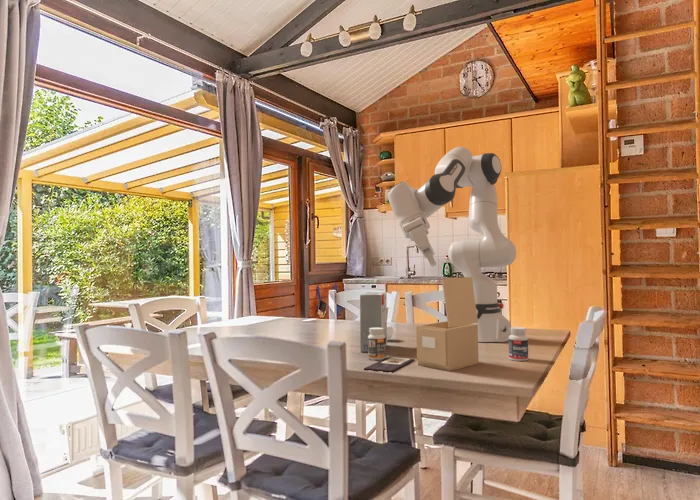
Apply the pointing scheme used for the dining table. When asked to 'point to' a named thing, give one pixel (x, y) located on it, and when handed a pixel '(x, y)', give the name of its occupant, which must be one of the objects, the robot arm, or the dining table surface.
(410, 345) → the dining table surface
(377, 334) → the pill bottle
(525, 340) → the pill bottle
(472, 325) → the carton
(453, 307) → the flap
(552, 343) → the dining table surface
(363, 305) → the hard drive box
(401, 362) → the chocolate bar
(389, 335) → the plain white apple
